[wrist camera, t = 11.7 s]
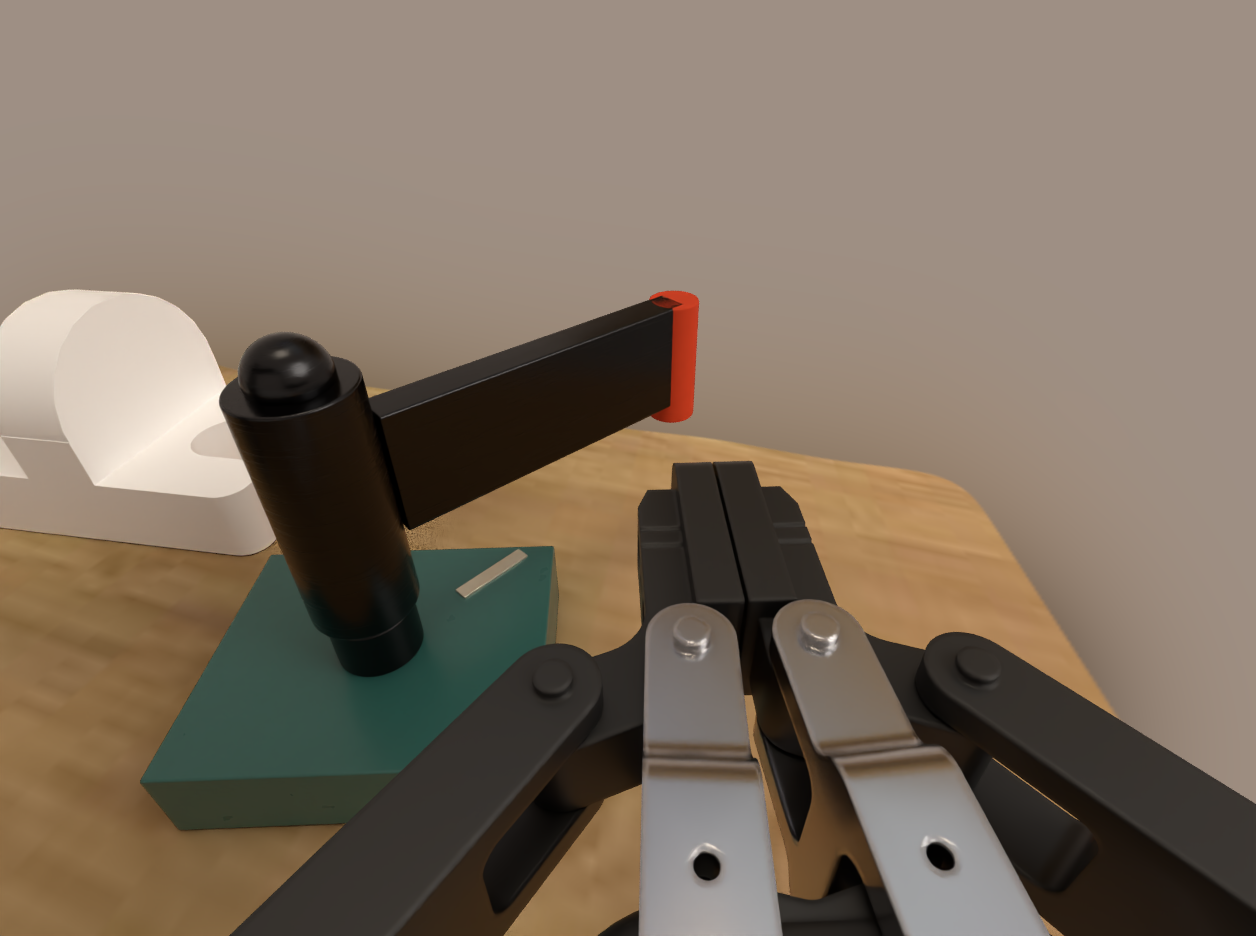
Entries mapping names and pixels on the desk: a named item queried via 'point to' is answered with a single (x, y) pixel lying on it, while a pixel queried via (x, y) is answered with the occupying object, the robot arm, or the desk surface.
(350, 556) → the black l-shaped bar
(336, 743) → the stand
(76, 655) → the desk surface
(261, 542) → the white slotted bracket
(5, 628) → the desk surface
